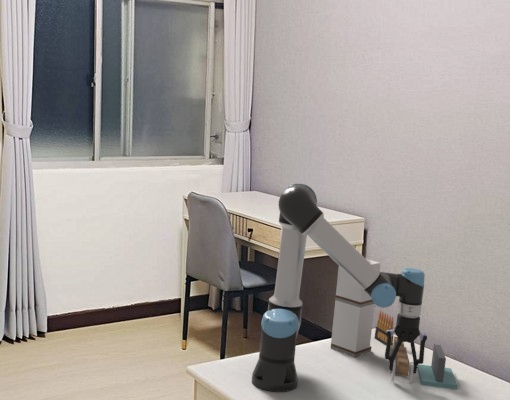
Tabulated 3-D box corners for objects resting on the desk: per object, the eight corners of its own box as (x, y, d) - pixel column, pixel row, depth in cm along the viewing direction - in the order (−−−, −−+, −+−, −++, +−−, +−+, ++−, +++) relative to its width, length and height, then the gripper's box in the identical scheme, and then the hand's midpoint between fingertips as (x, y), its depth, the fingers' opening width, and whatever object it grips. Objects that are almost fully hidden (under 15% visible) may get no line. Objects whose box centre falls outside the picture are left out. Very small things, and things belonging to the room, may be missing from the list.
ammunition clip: (392, 347, 276) (395, 317, 275) (388, 347, 276) (391, 317, 274) (378, 338, 286) (381, 309, 284) (374, 338, 285) (377, 309, 284)
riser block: (390, 373, 247) (392, 360, 247) (388, 358, 263) (389, 345, 262) (407, 375, 246) (409, 362, 246) (404, 360, 262) (405, 347, 262)
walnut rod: (408, 376, 232) (409, 367, 232) (399, 375, 233) (400, 366, 232) (401, 345, 264) (402, 337, 263) (393, 344, 264) (394, 336, 264)
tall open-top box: (370, 351, 269) (380, 262, 264) (354, 357, 261) (364, 265, 256) (346, 343, 276) (355, 256, 272) (330, 348, 269) (339, 259, 264)
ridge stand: (421, 384, 239) (424, 356, 238) (416, 368, 255) (420, 341, 254) (457, 389, 238) (460, 361, 236) (450, 372, 253) (453, 345, 252)
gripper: (381, 314, 232) (374, 381, 235) (438, 321, 230) (430, 388, 233) (380, 308, 240) (373, 373, 243) (435, 314, 237) (427, 380, 240)
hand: (401, 380), depth 238 cm, fingers open, 5 cm apart
